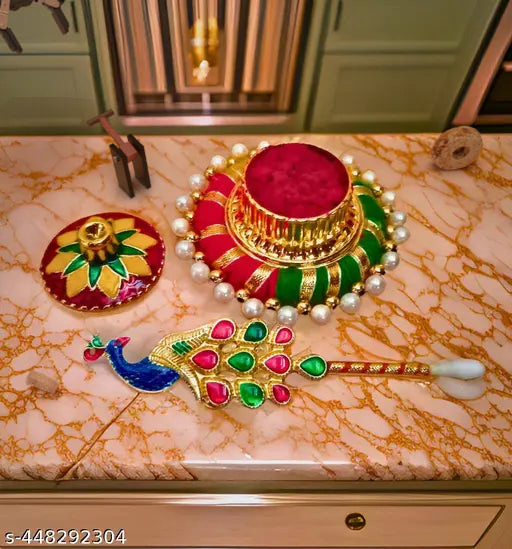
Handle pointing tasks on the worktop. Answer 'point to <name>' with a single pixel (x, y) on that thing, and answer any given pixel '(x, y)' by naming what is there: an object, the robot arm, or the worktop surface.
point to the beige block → (47, 382)
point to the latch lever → (114, 134)
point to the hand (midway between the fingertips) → (43, 42)
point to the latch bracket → (123, 167)
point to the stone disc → (457, 148)
